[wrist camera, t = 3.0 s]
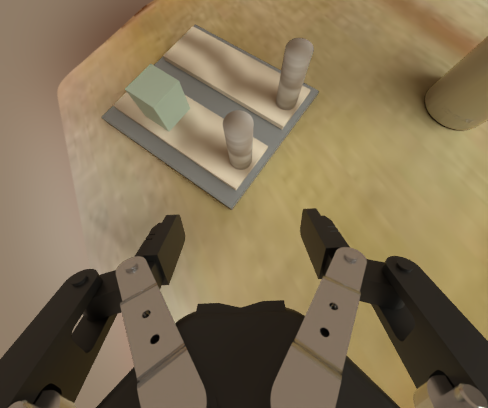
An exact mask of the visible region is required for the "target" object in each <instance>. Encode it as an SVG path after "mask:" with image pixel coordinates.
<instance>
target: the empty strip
mask: <svg viewBox="0 0 488 408" xmlns="http://www.w3.org/2000/svg"><path fill="white" fill-rule="evenodd" d="M313 51H314V47H313V45H312V43H311V42H310V41H308V40H306V39H304V38H295V39H292V40H290V41H289V42H288V43H287V45H286V48H285V53H284V59H283V64H282V70H281V74H280V73H279V72H277V71H275V70H273V69H271V68H269V67H267V66H266V65H264V64H262V63H260V62H258V61H256V60H254V59H253V58H251V57H249V56H247V55H245V54H243V53H242V52H240V51H238V50H236V49H234V48H232V47H230V46H229V45H227V44H225V43H223V42H221V41H219V40H217V39H216V38H214V37H212V36H210V35H208V34H206V33H205V32H203V31H201V30H199V29H197V28H195V27H192V28H191V29H190V30H189V31H188V32H187V33H185V34H184V35H183V36H182V37H181V38H180V39H179V40H178V41H177V42H176V43H175V44H174V45H173V46H172V47H171V48H170V49H169V50H168V51H167V52H166V53H165V54H164V55H163V57H164V59H165V61H167V62H169V63H171V64H172V65H174V66H176V67H177V68H179V69H181V70H182V71H184V72H186V73H187V74H189V75H191V76H192V77H194V78H196V79H197V80H199V81H201V82H203V83H204V84H206V85H208V86H209V87H211V88H213V89H214V90H216V91H218V92H219V93H221V94H223V95H224V96H226V97H228V98H229V99H231V100H233V101H235V102H236V103H238V104H240V105H241V106H243V107H245V108H246V109H248V110H250V111H251V112H253V113H255V114H256V115H258V116H260V117H261V118H263V119H265V120H267V121H268V122H270V123H272V124H273V125H275V126H277V127H278V128H280V129H283V128H284V127H285V125H286V124H287V123H288V121H289V120H290V119H291V117H292V116H293V115H294V113H295V112H296V111H297V109H298V108H299V107H300V105H301V104H302V103H303V101H304V100H305V99H306V97H307V96H308V95H309V93H310V89H308V88H306V87H304V86H303V82H304V79H305V76H306V73H307V70H308V66H309V63H310V60H311V57H312V54H313Z"/></svg>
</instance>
